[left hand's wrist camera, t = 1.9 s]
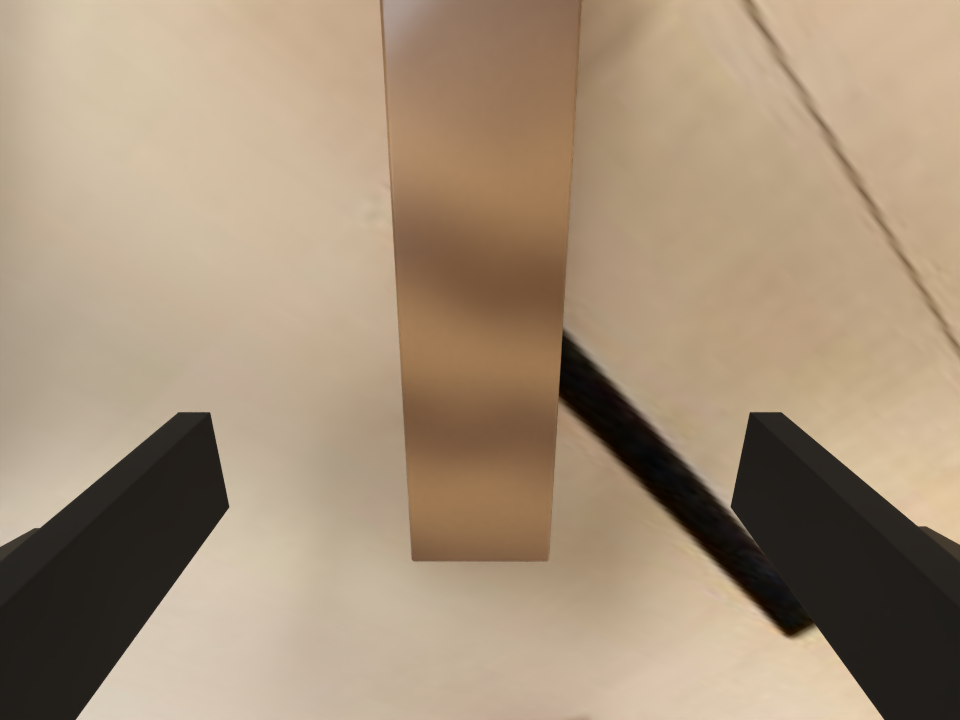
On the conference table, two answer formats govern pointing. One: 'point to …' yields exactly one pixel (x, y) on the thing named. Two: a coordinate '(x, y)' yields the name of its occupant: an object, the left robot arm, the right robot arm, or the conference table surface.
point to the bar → (480, 262)
